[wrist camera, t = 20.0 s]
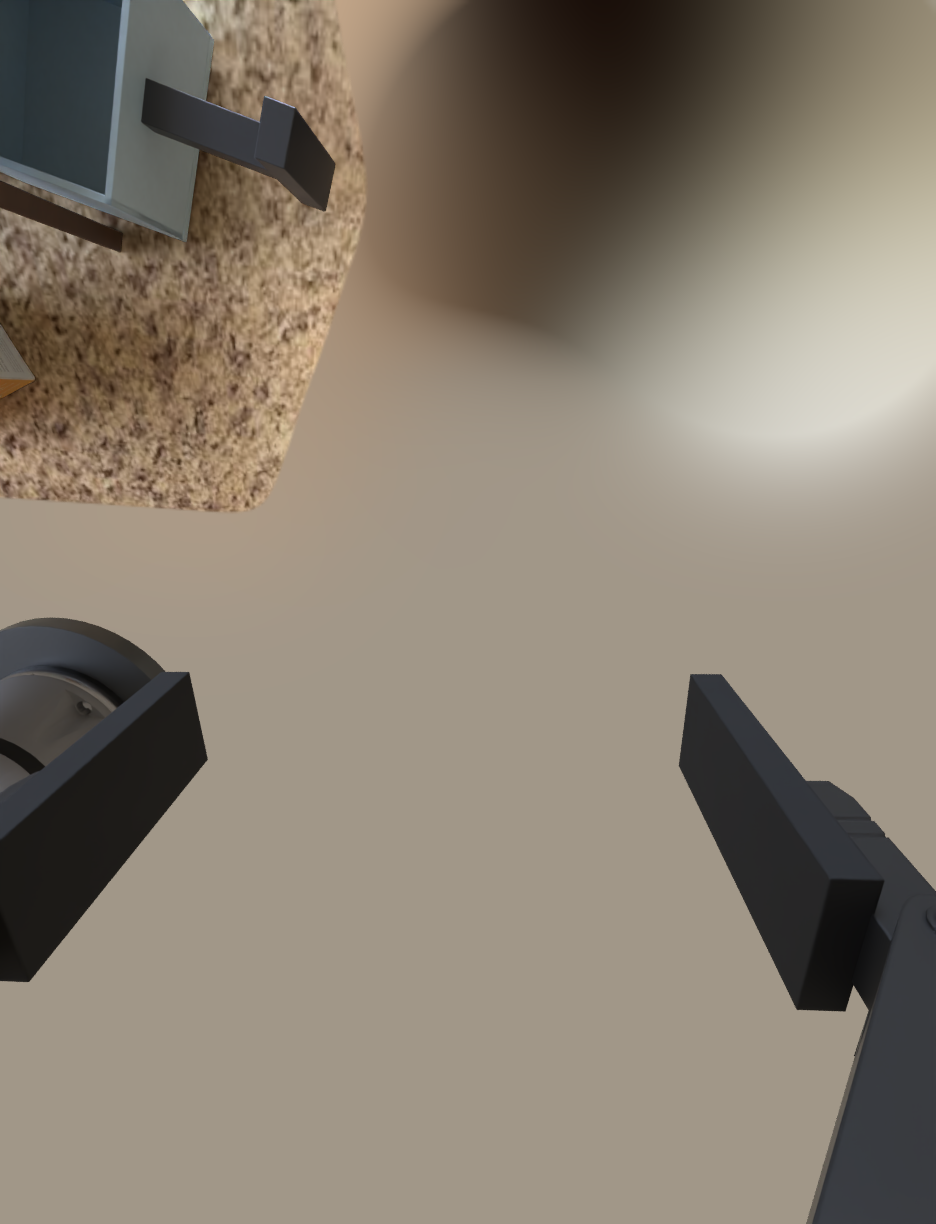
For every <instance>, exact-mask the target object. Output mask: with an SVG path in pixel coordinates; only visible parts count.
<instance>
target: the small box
mask: <svg viewBox="0 0 936 1224" xmlns="http://www.w3.org/2000/svg"><path fill="white" fill-rule="evenodd" d="M34 380H35V377H34V375H33V374H32V372H31V371H30V369H29V368H28V366H27V365H26V363H25V362H24V360H23V358H22V357H21V355H20V354H19V352H18V351H17V349H16V348H15V346H14V345H13V343H12V341H11V340H10V338H9V337H8V335H7V334H6V332H5V330H4V329H3V327H2V325H1V324H0V399H1V398H3V397H5V396H7V395H9V394H11V393H12V392H14V391H16V390H18V389H20V388H22V387H23V386H25V385H27V384H29V383H31V382H33V381H34Z"/></svg>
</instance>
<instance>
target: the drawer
mask: <svg viewBox="0 0 936 1224" xmlns="http://www.w3.org/2000/svg"><path fill="white" fill-rule="evenodd" d="M213 46H214V39H213V38H212V37H211V36H210V34H209V33H208V32H207V30H206V29H205V28H204V27H203V25H202V24H201V23H200V22H199V20H198V19H197V18H196V17H195V16H194V14H193V13H192V12H191V11H190V9H189V8H188V7H187V6H186V4H185V3H184V2H183V1H182V0H0V172H2V173H4V174H6V175H9V176H11V177H13V178H15V179H18V180H20V181H22V182H25V183H27V184H30V185H33V186H35V187H38V188H41V189H44V190H46V191H49V192H52V193H54V194H57V195H60V196H62V197H65V198H68V199H70V200H73V201H76V202H79V203H81V204H84V205H87V206H89V207H92V208H95V209H97V210H100V211H103V212H106V213H108V214H111V215H114V216H116V217H119V218H122V219H124V220H127V221H130V222H133V223H135V224H138V225H141V226H143V227H146V228H149V229H151V230H154V231H157V232H159V233H162V234H165V235H168V236H170V237H173V238H176V239H178V240H181V241H184V242H187V236H188V228H189V221H190V214H191V207H192V199H193V192H194V185H195V177H196V170H197V163H198V156H199V150H202V151H204V152H207V153H210V154H212V155H215V156H217V157H220V158H223V159H225V160H228V161H231V162H233V163H236V164H238V165H241V166H244V167H246V168H249V169H251V170H254V171H257V172H259V173H262V174H265V175H267V176H270V177H272V178H275V179H277V180H278V181H279V182H280V183H281V184H282V185H283V186H285V187H286V188H287V189H288V190H289V191H290V192H291V193H292V194H293V195H294V196H295V197H296V198H297V199H298V200H299V201H300V202H301V203H303V204H306V205H308V206H311V207H314V208H316V209H319V210H322V211H326V207H327V202H328V198H329V193H330V188H331V183H332V179H333V174H334V169H335V162H334V161H333V159H332V158H331V157H330V155H329V154H328V152H327V151H326V150H325V148H324V147H323V145H322V144H321V143H320V141H319V140H318V139H317V137H316V136H315V134H314V133H313V132H312V130H311V129H310V127H309V126H308V125H307V123H306V122H305V120H304V119H303V118H302V116H301V115H300V113H299V112H298V111H297V109H296V108H295V107H293V106H290V105H288V104H285V103H283V102H280V101H278V100H275V99H272V98H270V97H267V96H264V100H263V106H262V112H261V118H260V122H259V121H256V120H253V119H251V118H248V117H246V116H243V115H241V114H238V113H235V112H233V111H230V110H228V109H225V108H223V107H220V106H217V105H215V104H212V103H210V102H207V101H206V97H207V90H208V83H209V76H210V68H211V61H212V54H213Z"/></svg>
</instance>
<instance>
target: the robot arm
mask: <svg viewBox="0 0 936 1224" xmlns="http://www.w3.org/2000/svg"><path fill="white" fill-rule="evenodd" d="M207 760H208V759H207V754H206V749H205V744H204V740H203V735H202V730H201V726H200V721H199V716H198V712H197V707H196V702H195V697H194V693H193V688H192V683H191V679H190V674H189V672H161V673H160V674H158V675H157V676H156V677H155V678H153V679H152V680H151V681H150V682H148V683H147V684H146V685H145V686H144V687H142V688H141V689H140V690H139V691H137V692H136V693H135V694H134V695H133V696H131V697H130V698H129V699H128V700H126V701H125V702H123V701H122V700H121V699H120V698H119V697H118V696H117V695H116V694H115V693H114V692H113V691H111V690H110V689H109V688H108V687H106V686H105V685H103V684H102V683H100V682H99V681H97V680H95V679H94V678H92V677H89V676H87V675H85V674H83V673H80V672H78V671H75V670H72V669H68V668H63V667H58V666H33V667H28V668H24V669H21V670H18V671H16V672H14V673H12V674H10V675H9V676H7V677H5V678H3V679H2V680H0V981H16V982H29V981H30V980H31V979H32V978H33V976H34V975H35V974H36V973H37V971H38V970H39V969H40V967H41V966H42V965H43V964H44V963H45V961H46V960H47V959H48V958H49V956H50V955H51V954H52V953H53V951H54V950H55V949H56V948H57V946H58V945H59V944H60V943H61V941H62V940H63V939H64V938H65V936H66V935H67V934H68V933H69V932H70V930H71V929H72V928H73V927H74V925H75V924H76V923H77V922H78V920H79V919H80V918H81V917H82V915H83V914H84V913H85V911H86V910H87V909H88V908H89V907H90V905H91V904H92V903H93V902H94V900H95V899H96V898H97V897H98V895H99V894H100V893H101V892H102V890H103V889H104V888H105V887H106V885H107V884H108V883H109V881H111V879H112V878H113V877H114V876H115V874H116V873H117V872H118V871H119V869H120V868H121V867H122V865H123V864H124V863H125V862H126V861H127V859H128V858H129V857H130V855H131V854H132V853H133V852H134V851H135V849H136V848H137V847H138V846H139V844H140V843H141V842H142V841H143V839H144V838H145V837H146V836H147V834H148V833H149V832H150V830H151V829H152V828H153V827H154V826H155V824H156V823H157V822H158V820H159V819H160V818H161V817H162V816H163V815H164V813H165V812H166V811H167V809H168V808H169V807H170V806H171V805H172V803H173V802H174V801H175V800H176V798H177V797H178V796H179V794H180V793H181V792H182V791H183V790H184V788H185V787H186V786H187V785H188V783H189V782H190V781H191V780H192V778H193V777H194V776H195V775H196V773H197V772H198V771H199V770H200V768H201V767H202V766H203V765H204V763H205V762H206V761H207ZM679 767H680V769H681V771H682V773H683V775H684V777H685V779H686V781H687V783H688V785H689V788H690V790H691V792H692V794H693V796H694V798H695V800H696V802H697V804H698V806H699V808H700V810H701V812H702V815H703V817H704V819H705V821H706V823H707V825H708V827H709V829H710V831H711V833H712V835H713V837H714V839H715V841H716V843H717V846H718V847H719V850H720V852H721V854H722V856H723V858H724V860H725V862H726V864H727V866H728V868H729V870H730V872H731V875H732V877H733V879H734V881H735V883H736V885H737V887H738V889H739V891H740V893H741V895H742V897H743V899H744V901H745V903H746V905H747V907H748V910H749V912H750V914H751V916H752V918H753V920H754V922H755V924H756V926H757V928H758V930H759V932H760V935H761V936H762V939H763V941H764V943H765V945H766V947H767V949H768V951H769V953H770V955H771V957H772V959H773V961H774V963H775V966H776V968H777V969H778V972H779V974H780V976H781V978H782V980H783V982H784V984H785V986H786V988H787V990H788V992H789V995H790V996H791V998H792V1001H793V1003H794V1005H795V1007H796V1009H797V1010H819V1011H846V1007H847V1004H848V1001H849V997H850V994H851V991H852V988H853V985H854V986H855V988H856V990H857V991H858V993H859V995H860V996H861V998H862V1000H863V1001H864V1003H865V1005H866V1006H867V1008H868V1010H869V1011H868V1014H867V1017H866V1021H865V1024H864V1027H863V1030H862V1033H861V1036H860V1039H859V1042H858V1045H857V1048H856V1052H855V1055H854V1056H855V1058H854V1061H853V1065H852V1068H851V1072H850V1076H849V1079H848V1082H847V1085H846V1089H845V1092H844V1096H843V1100H842V1103H841V1106H840V1110H839V1113H838V1116H837V1120H836V1123H835V1127H834V1130H833V1134H832V1137H831V1141H830V1144H829V1148H828V1151H827V1155H826V1158H825V1161H824V1165H823V1168H822V1171H821V1175H820V1178H819V1182H818V1185H817V1189H816V1192H815V1195H814V1199H813V1202H812V1206H811V1209H810V1213H809V1216H808V1219H807V1223H806V1224H936V891H935V890H934V889H933V888H932V887H931V885H930V884H929V883H928V882H927V881H926V880H925V879H924V877H923V876H922V875H921V874H920V873H919V872H918V871H917V869H916V868H915V867H914V866H913V865H912V864H911V863H910V862H909V860H908V859H907V858H906V857H905V856H904V855H903V853H902V852H901V851H900V850H899V849H898V848H897V847H896V846H895V844H894V843H893V842H892V841H891V840H890V839H889V838H886V837H885V833H884V832H883V831H882V830H881V828H880V827H879V826H878V825H877V824H876V823H875V822H874V821H871V817H870V816H869V815H868V814H867V813H866V811H865V810H864V809H863V808H862V807H861V806H860V805H859V803H858V802H857V801H856V800H855V799H854V798H853V797H851V796H850V795H848V794H847V793H846V792H844V791H843V790H841V789H840V788H838V787H837V786H835V785H833V784H832V783H831V782H829V781H805V779H804V778H803V777H802V775H801V774H800V773H799V772H798V770H797V769H796V768H795V767H794V765H793V764H792V763H791V762H790V760H789V759H788V758H787V757H786V755H785V754H784V753H783V752H782V750H781V749H780V748H779V747H778V745H777V744H776V743H775V741H774V740H773V739H772V738H771V737H770V735H769V734H768V733H767V731H766V730H765V729H764V728H763V726H762V725H761V724H760V723H759V721H758V720H757V719H756V718H755V716H754V715H753V714H752V712H751V711H750V710H749V709H748V707H747V706H746V705H745V704H744V702H743V701H742V700H741V699H740V698H739V696H738V695H737V694H736V692H735V691H734V690H733V689H732V687H731V686H730V685H729V683H728V682H727V681H726V680H725V678H724V677H723V676H722V675H721V674H720V675H719V674H716V675H715V674H712V675H711V674H709V675H707V674H691V675H690V682H689V690H688V698H687V706H686V714H685V722H684V730H683V738H682V745H681V753H680V762H679Z"/></svg>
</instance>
